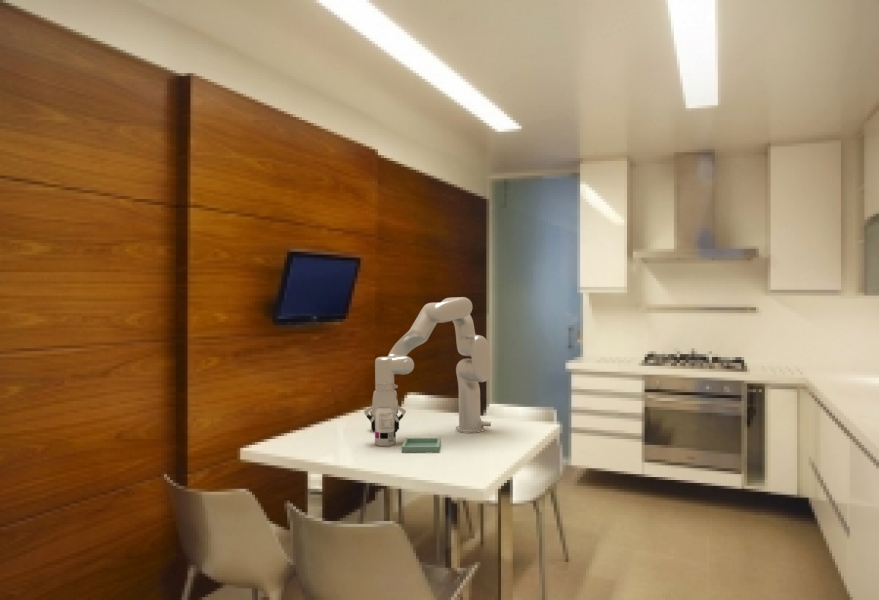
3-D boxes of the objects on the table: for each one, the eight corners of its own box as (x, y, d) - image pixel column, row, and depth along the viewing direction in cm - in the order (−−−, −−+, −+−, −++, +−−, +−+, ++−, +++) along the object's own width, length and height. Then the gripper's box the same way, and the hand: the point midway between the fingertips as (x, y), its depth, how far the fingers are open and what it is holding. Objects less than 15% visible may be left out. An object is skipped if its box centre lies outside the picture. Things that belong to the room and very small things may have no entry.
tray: (440, 443, 216) (440, 437, 216) (438, 452, 202) (438, 446, 202) (405, 443, 217) (405, 438, 217) (401, 452, 203) (401, 446, 203)
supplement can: (371, 445, 214) (370, 407, 215) (382, 441, 222) (382, 404, 222) (388, 447, 211) (387, 409, 211) (399, 443, 218) (399, 405, 218)
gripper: (407, 386, 220) (407, 429, 220) (365, 386, 221) (365, 429, 220) (405, 389, 212) (405, 433, 212) (361, 389, 213) (361, 433, 213)
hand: (385, 431), depth 216 cm, fingers closed on supplement can, 8 cm apart
